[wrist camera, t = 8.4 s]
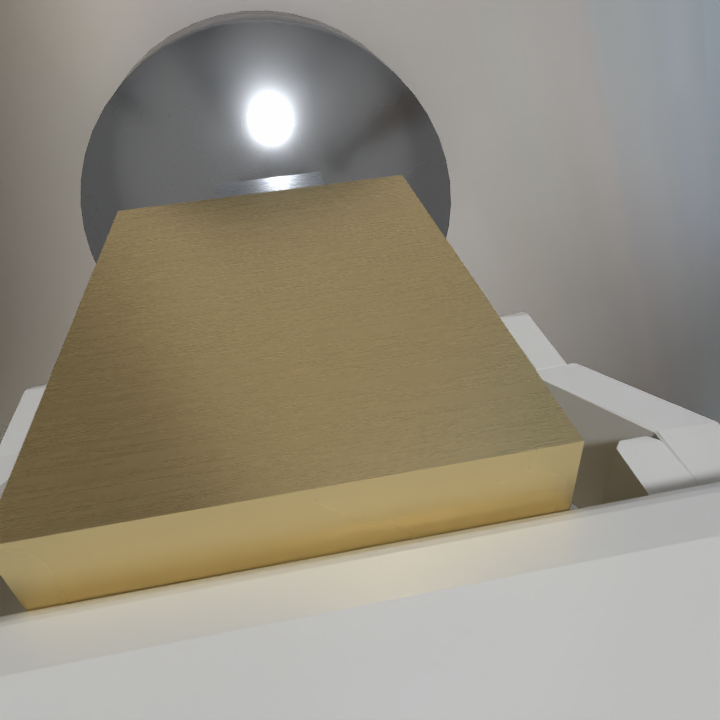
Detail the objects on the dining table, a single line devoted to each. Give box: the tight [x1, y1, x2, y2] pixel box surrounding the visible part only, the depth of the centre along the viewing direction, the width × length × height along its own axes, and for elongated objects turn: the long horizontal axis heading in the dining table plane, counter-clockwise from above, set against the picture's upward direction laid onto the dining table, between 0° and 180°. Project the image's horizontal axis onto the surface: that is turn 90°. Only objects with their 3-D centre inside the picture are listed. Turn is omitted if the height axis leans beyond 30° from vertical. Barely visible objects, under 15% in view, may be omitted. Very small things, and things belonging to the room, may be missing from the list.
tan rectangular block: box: [0, 175, 584, 611], centre depth 9 cm, size 5×5×7 cm
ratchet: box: [81, 11, 451, 263], centre depth 20 cm, size 26×9×5 cm, turn 4°
